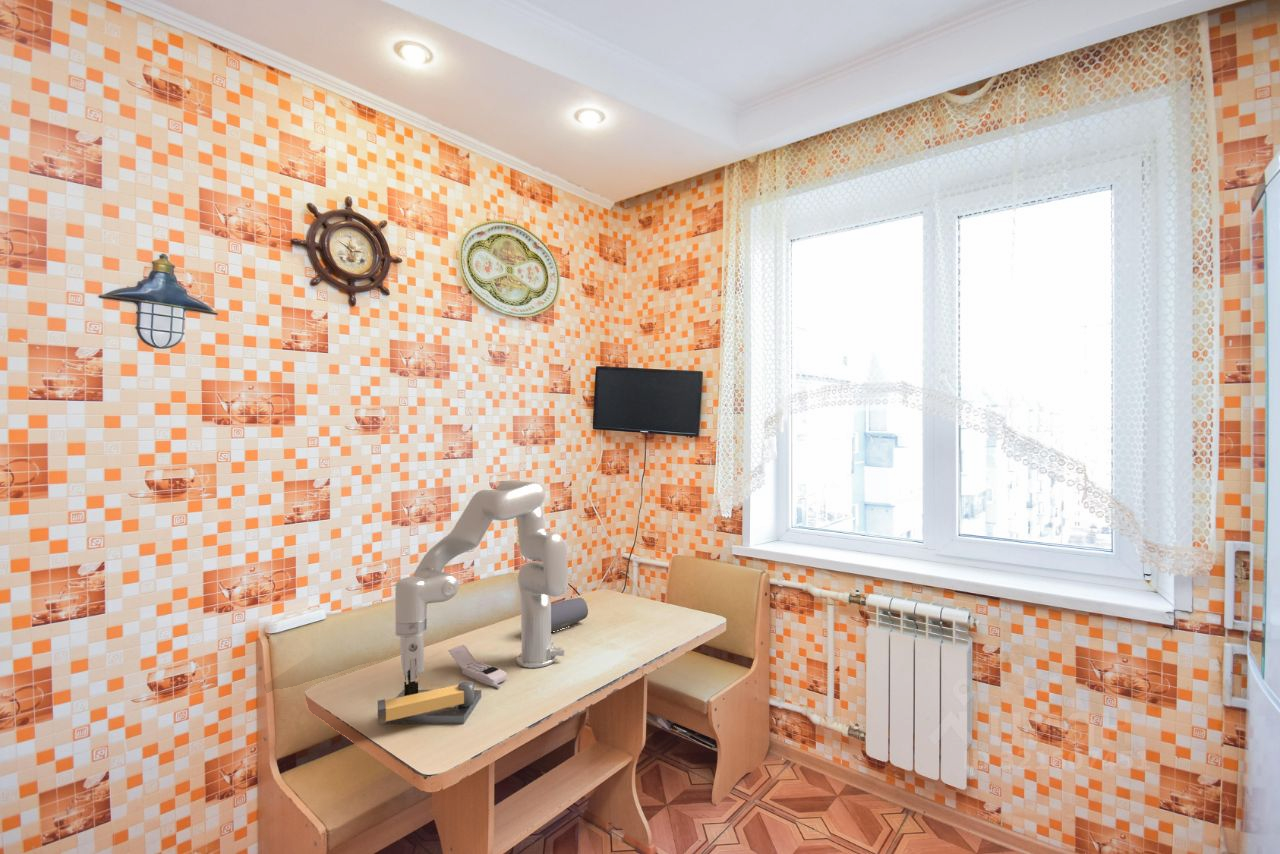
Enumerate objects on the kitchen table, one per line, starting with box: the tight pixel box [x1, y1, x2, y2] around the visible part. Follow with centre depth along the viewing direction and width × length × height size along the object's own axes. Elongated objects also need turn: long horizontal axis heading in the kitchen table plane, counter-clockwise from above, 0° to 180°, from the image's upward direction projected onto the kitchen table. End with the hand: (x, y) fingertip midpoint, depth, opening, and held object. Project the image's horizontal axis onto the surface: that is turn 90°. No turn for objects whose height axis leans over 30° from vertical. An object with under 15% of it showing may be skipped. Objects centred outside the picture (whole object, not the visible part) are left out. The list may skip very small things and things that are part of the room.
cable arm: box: [377, 680, 475, 725], centre depth 139 cm, size 23×5×5 cm, turn 118°
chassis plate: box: [385, 689, 482, 725], centre depth 145 cm, size 22×14×2 cm, turn 88°
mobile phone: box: [448, 644, 507, 689], centre depth 166 cm, size 6×6×25 cm
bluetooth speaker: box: [551, 597, 589, 632], centre depth 205 cm, size 23×9×10 cm, turn 136°
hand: (411, 696), depth 141 cm, fingers closed
